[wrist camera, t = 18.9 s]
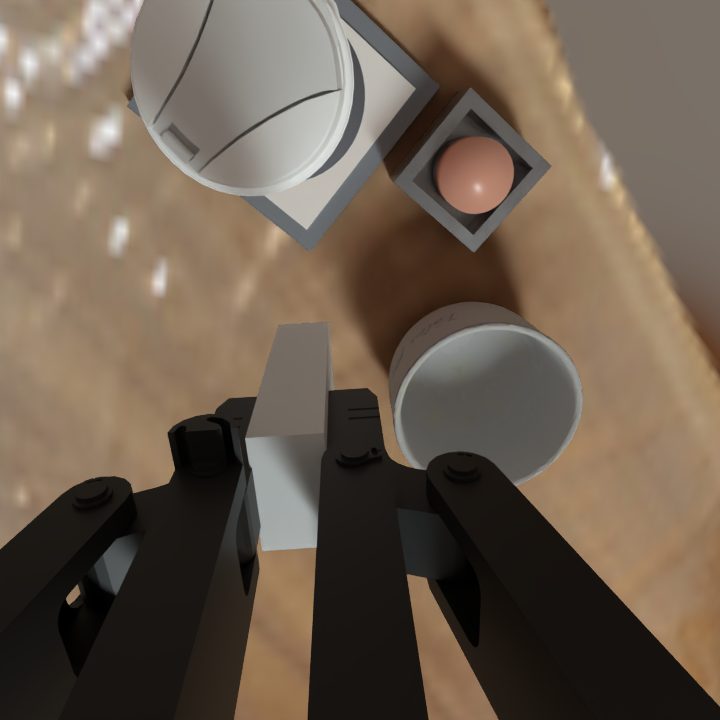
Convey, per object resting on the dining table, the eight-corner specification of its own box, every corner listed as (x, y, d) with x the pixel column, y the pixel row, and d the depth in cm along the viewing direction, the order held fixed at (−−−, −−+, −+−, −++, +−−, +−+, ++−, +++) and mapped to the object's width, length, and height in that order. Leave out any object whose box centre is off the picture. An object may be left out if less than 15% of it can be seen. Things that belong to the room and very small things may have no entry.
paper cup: (287, 198, 33) (244, 245, 20) (187, 95, 31) (66, 73, 18) (384, 98, 31) (406, 79, 18) (284, -20, 29) (226, -139, 16)
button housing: (389, 176, 34) (393, 182, 30) (457, 92, 32) (470, 87, 28) (461, 239, 35) (473, 252, 31) (529, 162, 33) (551, 166, 30)
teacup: (417, 264, 36) (434, 299, 28) (569, 314, 37) (622, 360, 30) (351, 442, 41) (350, 511, 33) (486, 480, 42) (515, 555, 35)
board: (132, 106, 32) (124, 106, 31) (252, -91, 29) (248, -100, 27) (311, 249, 35) (309, 253, 34) (438, 87, 32) (441, 85, 31)
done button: (418, 177, 32) (425, 181, 29) (465, 120, 30) (476, 120, 28) (467, 220, 32) (477, 228, 30) (513, 167, 31) (529, 170, 29)
